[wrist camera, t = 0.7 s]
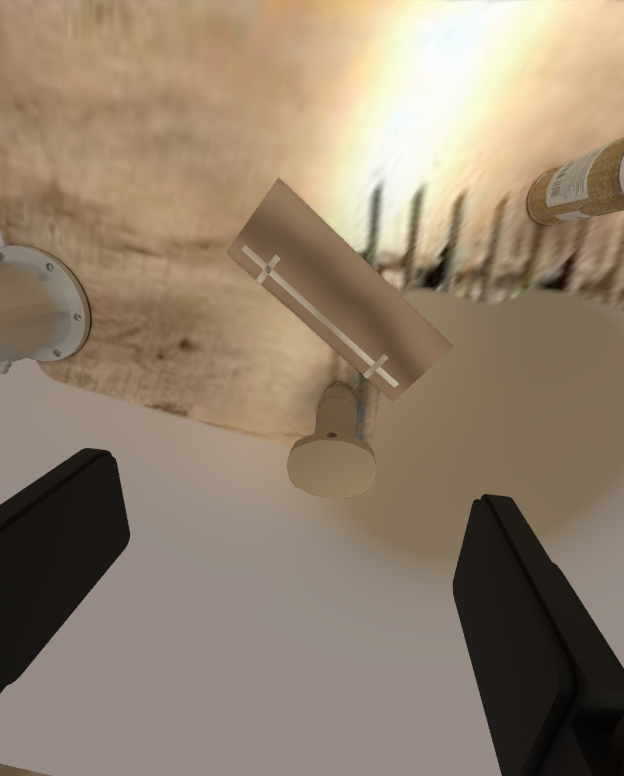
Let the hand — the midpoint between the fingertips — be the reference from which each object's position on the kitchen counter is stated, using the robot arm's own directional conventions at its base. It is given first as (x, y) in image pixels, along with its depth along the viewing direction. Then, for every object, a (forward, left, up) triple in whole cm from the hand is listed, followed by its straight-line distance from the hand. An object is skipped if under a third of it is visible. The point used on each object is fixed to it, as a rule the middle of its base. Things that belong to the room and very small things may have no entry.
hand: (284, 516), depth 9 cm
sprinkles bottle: (+21, -7, -29) cm, 37 cm away
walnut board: (+2, +1, -29) cm, 29 cm away
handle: (-6, -6, -29) cm, 30 cm away
